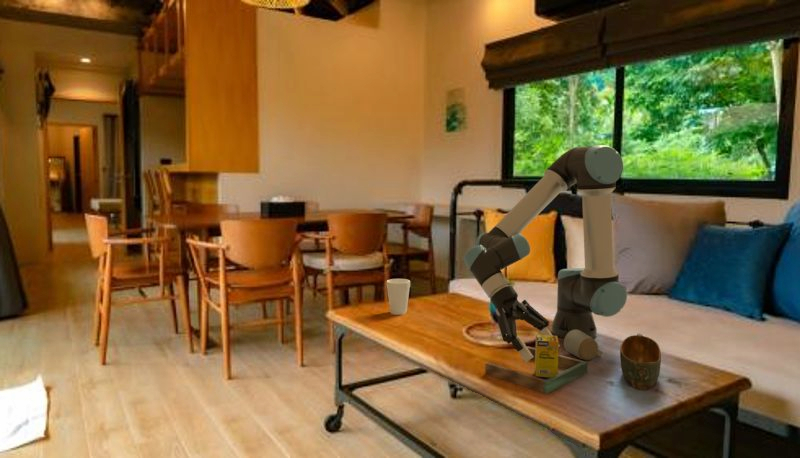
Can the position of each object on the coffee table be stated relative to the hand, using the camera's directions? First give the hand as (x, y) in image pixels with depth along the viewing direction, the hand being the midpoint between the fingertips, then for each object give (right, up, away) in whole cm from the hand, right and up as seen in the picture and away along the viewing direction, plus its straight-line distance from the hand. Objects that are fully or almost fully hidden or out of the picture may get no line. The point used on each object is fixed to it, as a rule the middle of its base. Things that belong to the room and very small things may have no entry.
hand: (543, 354), depth 152 cm
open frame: (-2, -6, +4) cm, 7 cm away
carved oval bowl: (+26, -7, -1) cm, 27 cm away
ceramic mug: (+17, -5, +17) cm, 25 cm away
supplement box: (+1, -6, +1) cm, 7 cm away
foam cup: (-40, +1, +69) cm, 80 cm away
